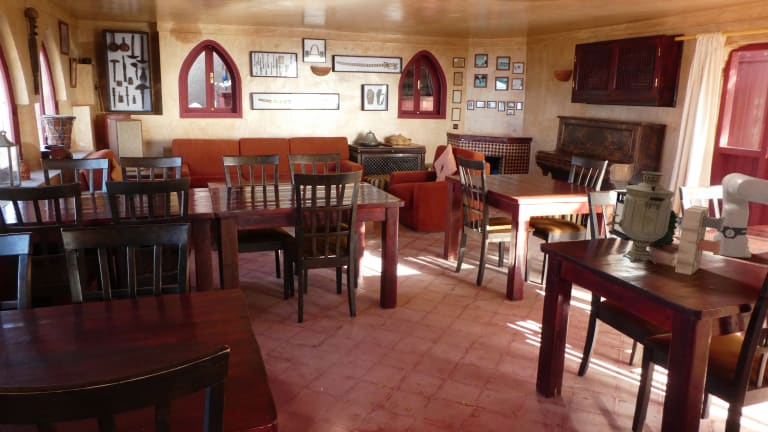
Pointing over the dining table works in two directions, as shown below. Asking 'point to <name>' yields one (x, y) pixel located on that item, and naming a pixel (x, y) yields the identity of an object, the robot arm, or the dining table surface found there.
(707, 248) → the terracotta plug
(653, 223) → the samovar
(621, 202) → the lantern
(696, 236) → the block
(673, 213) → the toy figurine
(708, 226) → the charcoal plug
